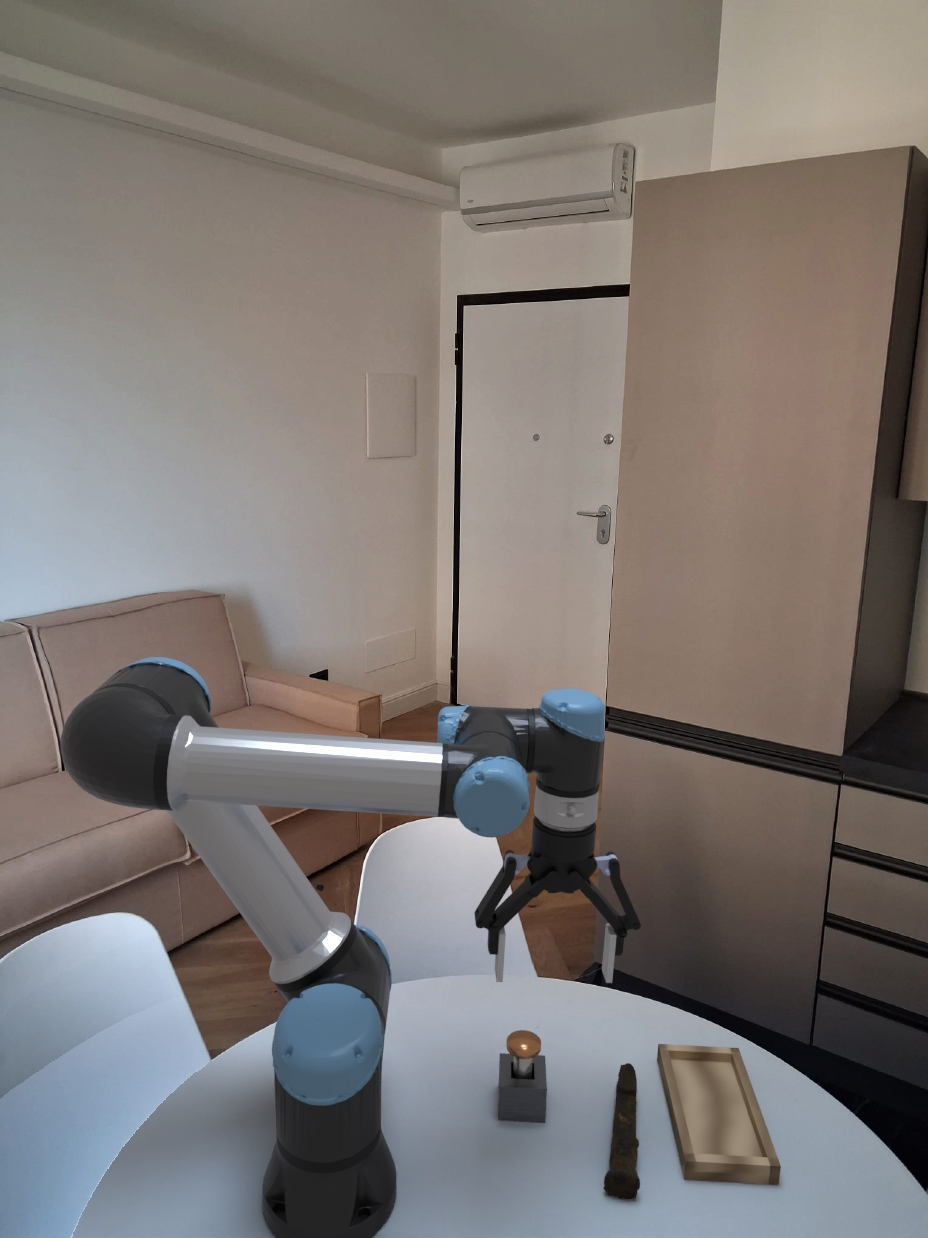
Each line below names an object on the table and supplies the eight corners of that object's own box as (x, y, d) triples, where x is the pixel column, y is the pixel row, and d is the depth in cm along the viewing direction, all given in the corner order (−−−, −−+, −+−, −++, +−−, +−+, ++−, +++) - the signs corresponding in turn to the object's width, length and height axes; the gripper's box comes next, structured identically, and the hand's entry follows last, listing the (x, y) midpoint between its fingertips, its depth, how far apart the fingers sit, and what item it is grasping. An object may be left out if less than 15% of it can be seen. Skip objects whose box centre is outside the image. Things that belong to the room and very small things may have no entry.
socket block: (497, 1120, 114) (499, 1086, 113) (498, 1085, 120) (499, 1053, 119) (545, 1123, 114) (546, 1089, 113) (543, 1088, 120) (545, 1055, 119)
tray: (683, 1179, 106) (685, 1161, 106) (657, 1060, 126) (658, 1044, 125) (778, 1185, 106) (780, 1166, 105) (736, 1064, 125) (738, 1048, 124)
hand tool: (637, 1206, 103) (640, 1173, 102) (602, 1198, 104) (605, 1164, 103) (647, 1089, 121) (650, 1059, 120) (617, 1083, 122) (619, 1053, 120)
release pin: (504, 1099, 115) (506, 1053, 113) (505, 1074, 119) (506, 1029, 117) (539, 1101, 114) (541, 1054, 113) (538, 1076, 119) (540, 1031, 117)
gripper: (462, 831, 103) (454, 994, 108) (676, 835, 105) (659, 995, 109) (459, 803, 110) (451, 957, 115) (659, 807, 112) (644, 958, 117)
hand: (552, 976), depth 112 cm, fingers open, 13 cm apart
